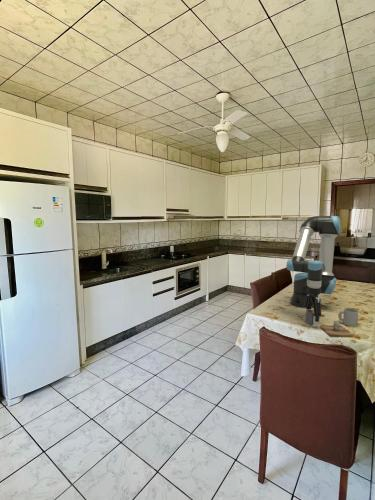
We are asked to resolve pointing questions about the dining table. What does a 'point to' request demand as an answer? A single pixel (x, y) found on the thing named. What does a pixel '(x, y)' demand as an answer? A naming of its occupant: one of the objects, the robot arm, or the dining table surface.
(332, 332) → the shaft block
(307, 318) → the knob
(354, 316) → the cup
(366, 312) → the dining table surface
